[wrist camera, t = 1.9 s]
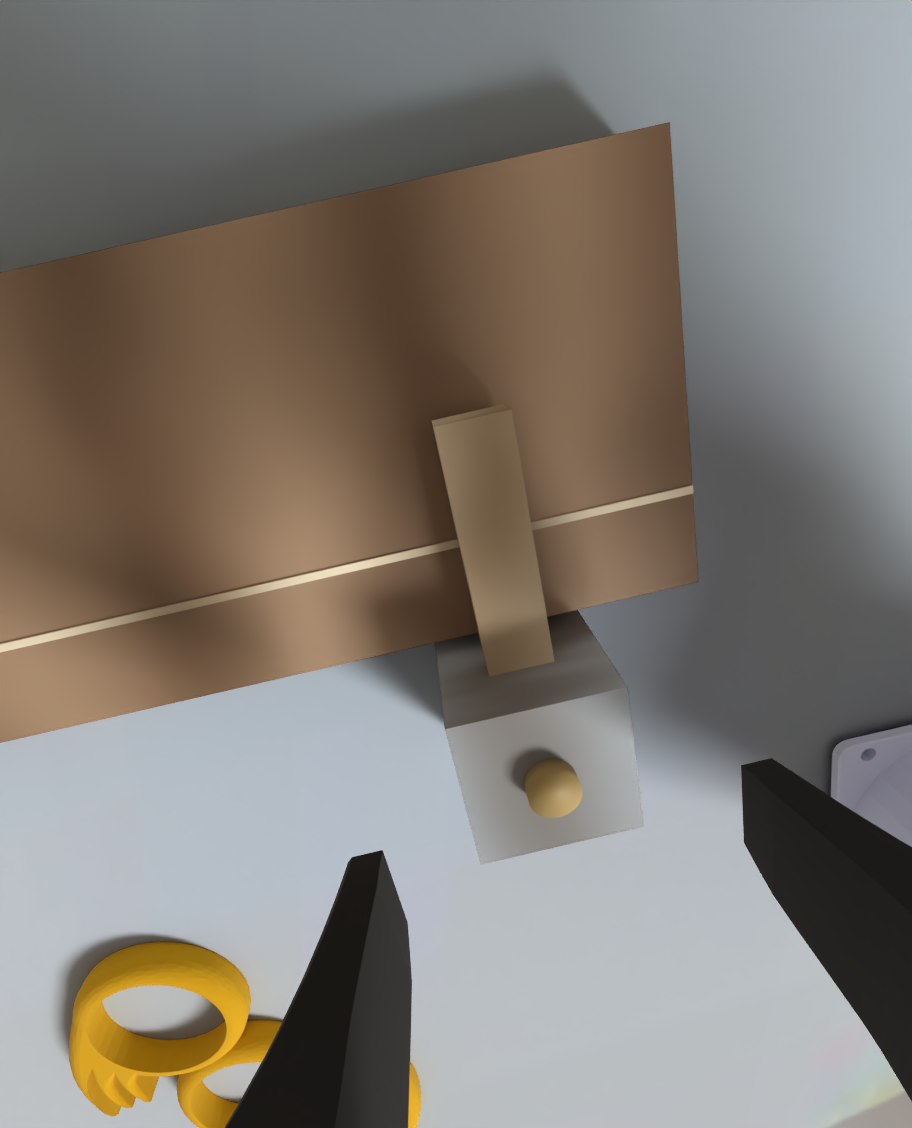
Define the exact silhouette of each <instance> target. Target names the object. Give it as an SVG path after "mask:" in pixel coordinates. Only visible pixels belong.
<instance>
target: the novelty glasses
mask: <svg viewBox="0 0 912 1128" xmlns="http://www.w3.org/2000/svg"><path fill="white" fill-rule="evenodd" d="M143 985H166V986H174V987H179V988H183V989H186V990H190V991H192V992H194V993H197V994H199V995H201V996H203V997H205V998H206V999H207V1000H209V1001H210V1002H212V1003H213V1004H214V1005H215V1006H216V1007H217V1008H218V1009H219V1010H220V1012H221V1013H222V1015H223V1017H224V1019H225V1021H224V1022H223V1023H221V1024H220V1025H219V1026H218V1027H216V1028H215V1029H213V1030H211V1031H209V1032H208V1033H205V1034H202V1035H199V1036H196V1037H193V1038H187V1039H181V1040H159V1039H152V1038H147V1037H143V1036H140V1035H137V1034H134V1033H132V1032H130V1031H128V1030H126V1029H124V1028H122V1027H121V1026H119V1025H118V1024H117V1023H116V1022H114V1021H113V1020H112V1019H111V1018H110V1016H109V1015H108V1014H107V1012H106V1011H105V1009H104V1006H103V1004H102V1000H103V999H105V998H106V997H108V996H110V995H112V994H113V993H116V992H118V991H121V990H124V989H127V988H131V987H137V986H143ZM250 1002H251V997H250V990H249V986H248V984H247V981H246V979H245V978H244V976H243V975H242V973H241V972H240V971H239V970H238V969H237V968H236V967H235V966H234V965H233V964H232V963H231V962H229V961H228V960H227V959H225V958H224V957H222V956H220V955H218V954H217V953H214V952H212V951H210V950H207V949H204V948H201V947H198V946H194V945H190V944H185V943H176V942H151V943H144V944H138V945H134V946H130V947H127V948H124V949H121V950H119V951H117V952H114V953H113V954H111V955H109V956H107V957H106V958H104V959H103V960H101V961H100V962H99V963H98V964H97V965H96V966H95V967H94V968H93V969H92V970H91V971H90V973H89V974H88V975H87V977H86V978H85V980H84V982H83V984H82V986H81V988H80V990H79V992H78V994H77V997H76V999H75V1002H74V1007H73V1015H72V1016H73V1019H72V1025H71V1030H70V1040H69V1059H70V1066H71V1070H72V1073H73V1077H74V1079H75V1081H76V1083H77V1085H78V1087H79V1088H80V1089H81V1091H82V1092H83V1094H84V1095H85V1096H86V1097H87V1098H88V1099H89V1100H90V1101H91V1102H92V1103H93V1104H94V1105H95V1106H96V1107H97V1108H98V1109H100V1110H101V1111H102V1112H103V1113H105V1114H107V1115H110V1116H116V1115H117V1114H119V1111H120V1108H121V1106H122V1107H125V1108H132V1107H133V1104H134V1101H135V1099H136V1097H137V1098H139V1099H141V1100H143V1101H145V1102H151V1100H152V1097H153V1094H154V1091H155V1088H156V1084H157V1081H158V1078H159V1076H172V1075H179V1078H178V1083H177V1095H178V1101H179V1104H180V1106H181V1108H182V1110H183V1112H184V1114H185V1115H186V1116H187V1117H188V1118H189V1120H190V1121H191V1122H193V1123H194V1124H195V1125H196V1126H198V1127H199V1128H225V1126H226V1124H227V1122H228V1121H229V1119H230V1117H231V1116H232V1114H233V1112H234V1111H235V1109H236V1107H237V1106H238V1104H239V1103H234V1102H231V1101H228V1100H225V1099H223V1098H221V1097H219V1096H217V1095H215V1094H214V1093H212V1092H211V1091H210V1090H209V1089H208V1088H207V1087H206V1086H205V1085H204V1083H203V1082H202V1079H204V1078H205V1077H206V1076H208V1075H209V1074H211V1073H213V1072H215V1071H217V1070H219V1069H222V1068H224V1067H227V1066H231V1065H235V1064H241V1063H250V1062H262V1061H263V1059H264V1057H265V1055H266V1053H267V1051H268V1049H269V1047H270V1045H271V1043H272V1042H273V1040H274V1038H275V1036H276V1034H277V1032H278V1030H279V1028H280V1026H281V1023H282V1022H281V1021H273V1020H251V1021H247V1019H248V1015H249V1010H250ZM420 1109H421V1091H420V1083H419V1079H418V1075H417V1073H416V1070H415V1068H414V1067H413V1065H412V1063H411V1062H410V1076H409V1114H408V1128H416V1127H417V1123H418V1120H419V1116H420Z"/></svg>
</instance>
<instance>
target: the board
mask: <svg viewBox="0 0 912 1128" xmlns="http://www.w3.org/2000/svg"><path fill="white" fill-rule="evenodd" d="M502 404H504V405H505V406H507V407H509V408H510V409H512V415H513V421H514V427H515V433H516V439H517V444H518V450H519V456H520V462H521V468H522V474H523V480H524V485H525V491H526V497H527V503H528V509H529V515H530V521H531V526H532V532H533V538H534V544H535V550H536V556H537V561H538V567H539V573H540V579H541V585H542V591H543V597H544V602H545V608H546V614H547V617H548V616H552V615H557V614H561V613H565V612H570V611H574V610H578V609H583V608H587V607H591V606H596V605H600V604H604V603H609V602H613V601H617V600H622V599H626V598H630V597H635V596H639V595H643V594H648V593H652V592H656V591H661V590H665V589H669V588H674V587H678V586H683V585H687V584H691V583H696V582H698V568H697V552H696V536H695V520H694V504H693V493H694V490H693V485H692V473H691V457H690V441H689V425H688V409H687V393H686V377H685V361H684V345H683V329H682V313H681V297H680V281H679V265H678V249H677V233H676V217H675V201H674V185H673V170H672V154H671V138H670V122H669V123H664V124H660V125H655V126H651V127H647V128H642V129H638V130H633V131H629V132H624V133H620V134H615V135H611V136H607V137H602V138H598V139H593V140H589V141H584V142H580V143H575V144H571V145H566V146H562V147H558V148H553V149H549V150H544V151H540V152H535V153H531V154H526V155H522V156H518V157H513V158H509V159H504V160H500V161H495V162H491V163H486V164H482V165H477V166H473V167H469V168H464V169H460V170H455V171H451V172H446V173H442V174H437V175H433V176H429V177H424V178H420V179H415V180H411V181H406V182H402V183H397V184H393V185H388V186H384V187H380V188H375V189H371V190H366V191H362V192H357V193H353V194H348V195H344V196H340V197H335V198H331V199H326V200H322V201H317V202H313V203H308V204H304V205H299V206H295V207H291V208H286V209H282V210H277V211H273V212H268V213H264V214H259V215H255V216H251V217H246V218H242V219H237V220H233V221H228V222H224V223H219V224H215V225H210V226H206V227H202V228H197V229H193V230H188V231H184V232H179V233H175V234H170V235H166V236H162V237H157V238H153V239H148V240H144V241H139V242H135V243H130V244H126V245H122V246H117V247H113V248H108V249H104V250H99V251H95V252H90V253H86V254H81V255H77V256H73V257H68V258H64V259H59V260H55V261H50V262H46V263H41V264H37V265H33V266H28V267H24V268H19V269H15V270H10V271H6V272H1V273H0V743H2V742H6V741H10V740H15V739H19V738H23V737H28V736H32V735H36V734H41V733H45V732H49V731H54V730H58V729H62V728H67V727H71V726H75V725H80V724H84V723H88V722H93V721H97V720H101V719H106V718H110V717H114V716H119V715H123V714H127V713H132V712H136V711H140V710H145V709H149V708H153V707H158V706H162V705H166V704H171V703H175V702H179V701H184V700H188V699H192V698H197V697H201V696H205V695H210V694H214V693H218V692H223V691H227V690H231V689H236V688H240V687H244V686H249V685H253V684H257V683H262V682H266V681H270V680H275V679H279V678H284V677H288V676H292V675H297V674H301V673H305V672H310V671H314V670H318V669H323V668H327V667H331V666H336V665H340V664H344V663H349V662H353V661H357V660H362V659H366V658H370V657H375V656H379V655H383V654H388V653H392V652H396V651H401V650H405V649H409V648H414V647H418V646H422V645H427V644H431V643H435V642H440V641H444V640H448V639H453V638H457V637H461V636H466V635H470V634H474V633H479V632H478V628H477V623H476V619H475V614H474V610H473V605H472V600H471V596H470V591H469V587H468V582H467V578H466V573H465V569H464V564H463V560H462V555H461V551H460V546H459V542H458V537H457V533H456V528H455V524H454V519H453V515H452V510H451V506H450V501H449V497H448V492H447V488H446V483H445V479H444V474H443V470H442V465H441V461H440V456H439V452H438V447H437V443H436V438H435V434H434V429H433V425H432V420H436V419H441V418H445V417H449V416H454V415H458V414H462V413H467V412H471V411H476V410H480V409H484V408H489V407H493V406H498V405H502Z"/></svg>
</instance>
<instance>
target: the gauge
mask: <svg viewBox="0 0 912 1128" xmlns="http://www.w3.org/2000/svg"><path fill="white" fill-rule="evenodd" d="M432 425H433V429H434V434H435V438H436V443H437V447H438V452H439V456H440V461H441V465H442V470H443V474H444V479H445V483H446V488H447V492H448V497H449V501H450V506H451V510H452V515H453V519H454V524H455V528H456V533H457V537H458V542H459V546H460V551H461V555H462V560H463V564H464V569H465V573H466V578H467V582H468V587H469V591H470V596H471V600H472V605H473V610H474V614H475V619H476V623H477V628H478V632H479V633H474V634H470V635H466V636H461V637H457V638H453V639H448V640H444V641H440V642H435V647H436V656H437V664H438V673H439V682H440V690H441V699H442V708H443V716H444V725H445V731H446V735H447V739H448V742H449V746H450V750H451V754H452V758H453V761H454V765H455V769H456V773H457V777H458V780H459V784H460V788H461V792H462V795H463V799H464V803H465V807H466V811H467V814H468V818H469V822H470V826H471V830H472V833H473V837H474V841H475V845H476V848H477V852H478V856H479V860H480V864H485V863H490V862H494V861H498V860H503V859H507V858H511V857H515V856H520V855H524V854H528V853H532V852H537V851H541V850H545V849H550V848H554V847H558V846H562V845H567V844H571V843H575V842H580V841H584V840H588V839H592V838H597V837H601V836H605V835H610V834H614V833H618V832H622V831H627V830H631V829H635V828H640V827H644V821H643V812H642V804H641V796H640V787H639V779H638V771H637V762H636V754H635V746H634V737H633V729H632V721H631V712H630V704H629V695H628V687H627V686H626V684H625V682H624V681H623V679H622V678H621V676H620V675H619V673H618V672H617V670H616V669H615V667H614V666H613V664H612V662H611V661H610V659H609V658H608V656H607V655H606V653H605V652H604V650H603V649H602V647H601V646H600V644H599V643H598V641H597V639H596V638H595V636H594V635H593V633H592V632H591V630H590V629H589V627H588V626H587V624H586V623H585V621H584V620H583V618H582V616H581V615H580V613H579V612H578V610H574V611H570V612H565V613H561V614H557V615H552V616H548V617H547V614H546V608H545V602H544V597H543V591H542V585H541V579H540V573H539V567H538V561H537V556H536V550H535V544H534V538H533V532H532V526H531V521H530V515H529V509H528V503H527V497H526V491H525V485H524V480H523V474H522V468H521V462H520V456H519V450H518V444H517V439H516V433H515V427H514V421H513V415H512V409H510V408H509V407H507V406H505V405H504V404H502V405H498V406H493V407H489V408H484V409H480V410H476V411H471V412H467V413H462V414H458V415H454V416H449V417H445V418H441V419H436V420H432Z"/></svg>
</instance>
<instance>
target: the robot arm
mask: <svg viewBox="0 0 912 1128" xmlns="http://www.w3.org/2000/svg"><path fill="white" fill-rule="evenodd" d="M741 771H742V798H743V826H744V843H745V845H746V847H747V849H748V851H749V852H750V854H751V856H752V858H753V860H754V862H755V864H756V865H757V867H758V869H759V871H760V873H761V874H762V876H763V878H764V880H765V881H766V883H767V885H768V887H769V888H770V890H771V892H772V894H773V895H774V897H775V898H776V900H777V901H778V903H779V904H780V906H781V907H782V908H783V910H784V911H785V913H786V914H787V916H788V917H789V918H790V920H791V921H792V923H793V924H794V926H795V927H796V928H797V930H798V931H799V933H800V934H801V936H802V937H803V938H804V940H805V941H806V943H807V944H808V945H809V947H810V948H811V950H812V951H813V953H814V954H815V955H816V957H817V958H818V960H819V961H820V962H821V964H822V965H823V967H824V968H825V969H826V971H827V972H828V974H829V975H830V977H831V978H832V979H833V981H834V982H835V984H836V985H837V986H838V988H839V989H840V991H841V992H842V993H843V995H844V996H845V998H846V999H847V1001H848V1002H849V1003H850V1005H851V1006H852V1008H853V1009H854V1010H855V1012H856V1013H857V1015H858V1016H859V1017H860V1019H861V1020H862V1022H863V1023H864V1025H865V1026H866V1028H867V1029H868V1031H869V1032H870V1034H871V1035H872V1037H873V1039H874V1040H875V1042H876V1043H877V1045H878V1046H879V1048H880V1049H881V1051H882V1052H883V1054H884V1056H885V1057H886V1059H887V1061H888V1062H889V1064H890V1066H891V1067H892V1069H893V1071H894V1072H895V1074H896V1076H897V1077H898V1079H899V1081H900V1082H901V1084H902V1086H903V1088H904V1089H905V1091H906V1093H907V1094H908V1096H909V1097H910V1099H911V1100H912V724H911V725H907V726H903V727H899V728H894V729H890V730H886V731H881V732H877V733H873V734H869V735H864V736H860V737H856V738H851V739H847V740H844V741H842V742H840V743H839V744H837V745H836V747H835V748H834V750H833V753H832V775H831V797H830V796H829V795H827V794H826V793H824V792H823V791H821V790H820V789H818V788H816V787H815V786H813V785H812V784H810V783H809V782H807V781H806V780H804V779H803V778H801V777H800V776H798V775H797V774H795V773H794V772H792V771H790V770H789V769H787V768H786V767H784V766H783V765H781V764H780V763H778V762H777V761H775V760H773V759H772V758H771V759H766V760H762V761H758V762H754V763H749V764H745V765H741ZM411 994H412V979H411V963H410V949H409V937H408V924H407V920H406V917H405V914H404V911H403V908H402V905H401V903H400V900H399V897H398V894H397V891H396V888H395V885H394V882H393V879H392V876H391V874H390V871H389V868H388V865H387V862H386V859H385V856H384V853H383V850H381V851H377V852H373V853H369V854H364V855H360V856H356V857H352V858H351V860H350V861H349V862H348V864H347V867H346V870H345V873H344V876H343V879H342V882H341V885H340V888H339V890H338V893H337V896H336V899H335V901H334V904H333V907H332V909H331V912H330V914H329V917H328V920H327V922H326V925H325V927H324V930H323V932H322V935H321V937H320V939H319V942H318V944H317V946H316V949H315V951H314V954H313V956H312V958H311V961H310V963H309V965H308V968H307V970H306V972H305V975H304V977H303V979H302V981H301V984H300V986H299V988H298V990H297V992H296V994H295V996H294V998H293V1000H292V1002H291V1005H290V1007H289V1009H288V1011H287V1013H286V1015H285V1017H284V1019H283V1021H282V1023H281V1026H280V1028H279V1030H278V1032H277V1034H276V1036H275V1038H274V1040H273V1042H272V1043H271V1045H270V1047H269V1049H268V1051H267V1053H266V1055H265V1057H264V1059H263V1061H262V1063H261V1064H260V1066H259V1068H258V1070H257V1072H256V1074H255V1075H254V1077H253V1079H252V1081H251V1083H250V1084H249V1086H248V1088H247V1090H246V1092H245V1093H244V1095H243V1097H242V1099H241V1101H240V1102H239V1104H238V1106H237V1107H236V1109H235V1111H234V1112H233V1114H232V1116H231V1117H230V1119H229V1121H228V1122H227V1124H226V1126H225V1128H408V1114H409V1076H410V1038H411Z"/></svg>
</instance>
